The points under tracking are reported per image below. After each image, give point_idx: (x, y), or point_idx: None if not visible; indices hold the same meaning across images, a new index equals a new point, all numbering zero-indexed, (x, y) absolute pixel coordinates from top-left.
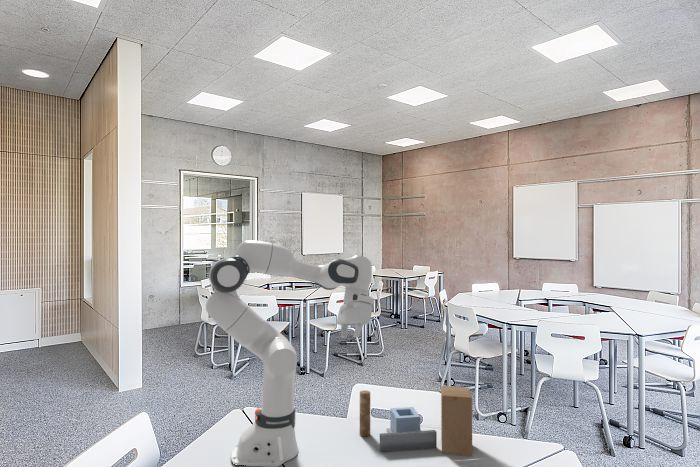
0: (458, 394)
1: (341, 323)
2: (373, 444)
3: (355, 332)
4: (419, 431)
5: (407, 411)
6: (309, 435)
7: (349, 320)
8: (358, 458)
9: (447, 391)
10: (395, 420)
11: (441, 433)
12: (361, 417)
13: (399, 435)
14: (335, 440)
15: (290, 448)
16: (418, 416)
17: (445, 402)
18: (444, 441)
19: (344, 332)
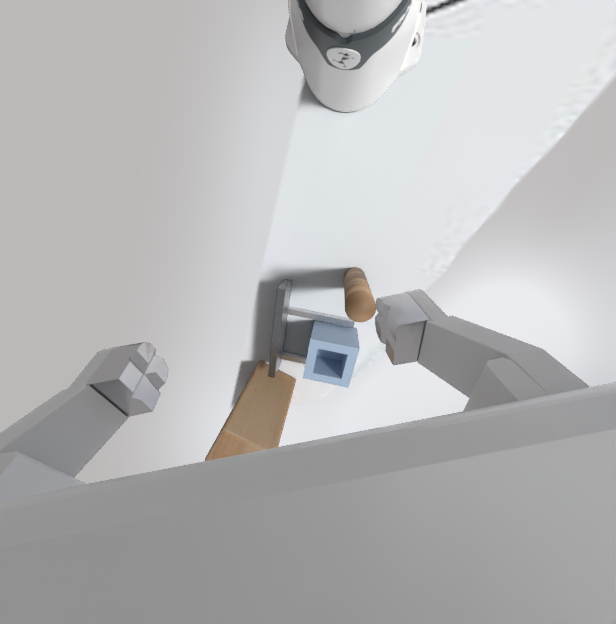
0: (220, 454)
1: (567, 396)
2: (317, 279)
3: (75, 383)
4: (275, 355)
5: (342, 371)
6: (403, 156)
7: (120, 546)
8: (278, 236)
9: (239, 448)
10: (317, 336)
11: (282, 383)
12: (351, 278)
13: (274, 320)
14: (357, 213)
15: (312, 73)
16: (305, 376)
17: (225, 422)
18: (252, 373)
19: (394, 334)
